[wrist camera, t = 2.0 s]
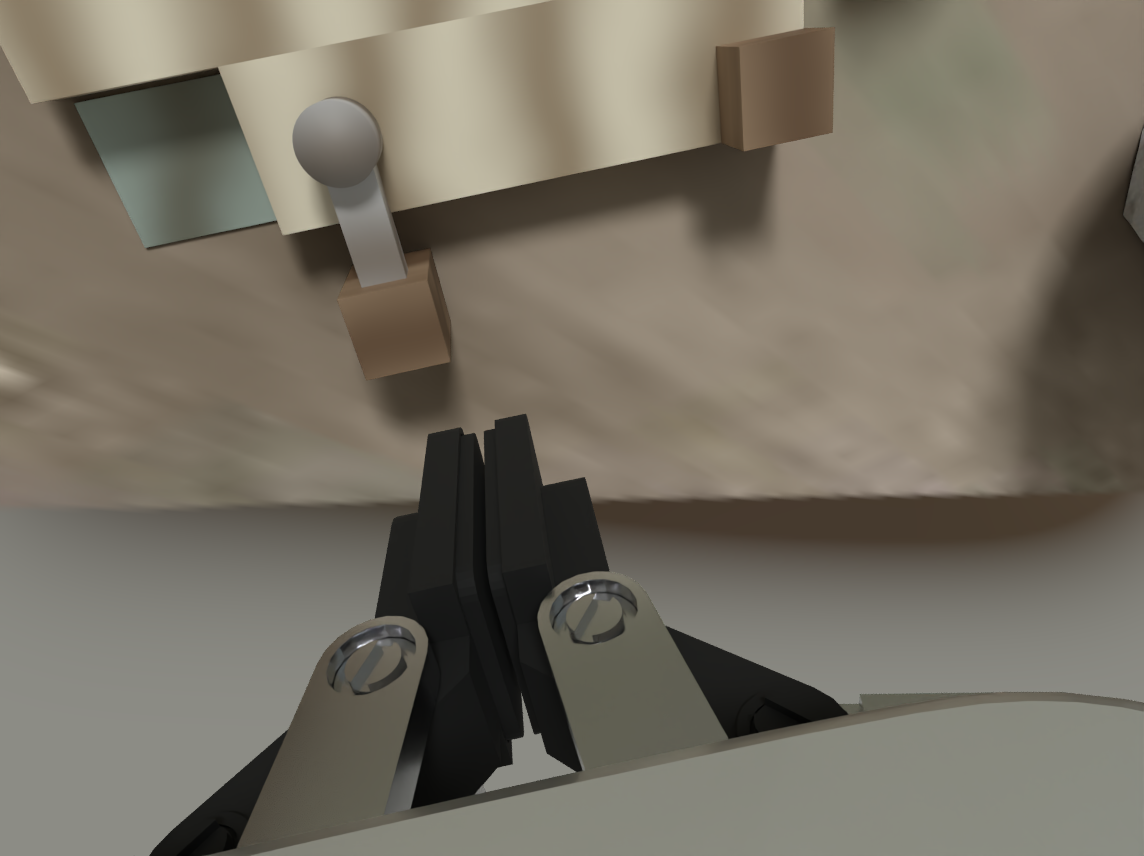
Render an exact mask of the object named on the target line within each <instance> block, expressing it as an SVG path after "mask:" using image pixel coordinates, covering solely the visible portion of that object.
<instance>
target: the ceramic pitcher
mask: <svg viewBox="0 0 1144 856" xmlns="http://www.w3.org/2000/svg"><path fill="white" fill-rule="evenodd" d="M1123 216H1124V217H1125V218H1126V219H1127V220H1128V222H1129V223H1130V224H1131V226H1132V227H1133V229H1134V230H1135V232H1136V233H1137V235H1138V236H1139V238H1140V239H1141V240H1142V241H1143V242H1144V128H1143V130H1142V135H1141V140H1140V145H1139V149H1138V153H1137V157H1136V161H1135V164H1134V169H1133V173H1132V178H1131V182H1130V187H1129V191H1128V196H1127V200H1126V205H1125V209H1124V214H1123Z"/></svg>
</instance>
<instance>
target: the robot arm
mask: <svg viewBox="0 0 1144 856" xmlns="http://www.w3.org/2000/svg"><path fill="white" fill-rule="evenodd" d="M484 459H485V465H484V462H483V458H482V454H481V451H480V447H479V443H478V440H477V437H476V434H475V433H472V434H467V435H464V433H463V430H462V428H461V427H460V428H455V429H451V430H446V431H441V432H436V433H431V434H428V439H427V447H426V454H425V462H424V470H423V478H422V486H421V493H420V501H419V509H418V513H413V514H408V515H404V516H399V517H396V518H394V519H393V522H392V526H391V532H390V538H389V543H388V548H387V554H386V559H385V565H384V570H383V576H382V581H381V587H380V592H379V598H378V603H377V609H376V614H375V619H372V620H368V621H366V622H364V623H362V624H359V625H357V626H355V627H353V628H351V629H350V630H348V631H347V632H345V633H344V634H342V635H341V636H340V637H338V638H337V639H336V640H335V641H334V642H333V643H332V644H331V645H330V646H329V647H328V648H327V649H326V650H325V652H324V653H323V655H322V657H321V659H320V660H319V662H318V663H317V665H316V668H315V670H314V672H313V674H312V677H311V679H310V682H309V684H308V686H307V688H306V690H305V693H304V695H303V697H302V700H301V702H300V704H299V706H298V709H297V711H296V713H295V715H294V718H293V720H292V722H291V725H290V727H289V729H288V730H287V731H286V732H285V733H283V734H282V735H281V736H280V737H279V738H278V739H276V740H275V741H274V742H273V743H272V744H271V745H270V746H268V748H266V749H265V750H264V751H263V752H261V753H260V754H259V755H258V756H257V757H256V758H255V759H254V760H252V761H251V762H250V763H249V764H248V765H247V766H245V767H244V768H243V769H242V770H241V771H240V772H238V773H237V774H236V775H235V776H234V777H233V778H232V779H230V780H229V781H228V782H227V783H226V784H225V785H224V786H222V787H221V788H220V789H219V790H218V791H217V792H215V793H214V794H213V795H212V796H211V797H210V798H209V799H207V800H206V801H205V802H204V803H203V804H202V805H201V806H199V807H198V808H197V809H196V810H195V811H194V812H193V813H191V814H190V815H189V816H188V817H187V818H186V819H184V820H183V821H182V822H181V823H180V824H179V825H178V826H176V827H175V828H174V829H173V830H172V831H171V832H170V833H169V834H168V835H167V836H166V837H165V838H164V839H163V840H162V841H161V842H160V843H159V844H158V845H157V846H156V847H155V848H154V850H153V851H152V853H151V854H150V856H1144V703H1143V702H1137V701H1132V700H1126V699H1118V698H1110V697H1101V696H1091V695H1083V694H1074V693H1065V692H995V693H994V692H991V693H919V694H918V693H916V694H860V697H859V704H838V703H837V702H836V701H835V700H834V699H833V698H831V697H830V696H828V695H826V694H824V693H822V692H821V691H819V690H817V689H815V688H814V687H811V686H809V685H806V684H804V683H802V682H799V681H797V680H794V679H792V678H789V677H787V676H784V675H782V674H780V673H778V672H775V671H773V670H770V669H768V668H766V667H763V666H761V665H758V664H756V663H754V662H751V661H749V660H746V659H744V658H742V657H739V656H737V655H734V654H732V653H729V652H727V651H725V650H722V649H720V648H718V647H715V646H713V645H710V644H708V643H706V642H703V641H701V640H698V639H696V638H694V637H691V636H689V635H686V634H684V633H682V632H679V631H677V630H674V629H672V628H670V627H667V626H665V625H664V623H663V621H662V619H661V618H660V616H659V614H658V612H657V610H656V609H655V607H654V605H653V603H652V602H651V600H650V598H649V596H648V594H647V593H646V591H644V589H643V588H642V587H641V586H640V584H639V583H637V582H636V581H634V580H633V579H631V578H629V577H627V576H626V575H622V574H618V573H614V572H610V571H609V567H608V564H607V560H606V556H605V552H604V548H603V544H602V540H601V537H600V533H599V529H598V525H597V521H596V517H595V514H594V510H593V506H592V502H591V498H590V494H589V490H588V487H587V483H586V479H585V477H583V478H578V479H573V480H569V481H564V482H559V483H555V484H550V485H545V486H543V484H542V479H541V475H540V471H539V466H538V462H537V458H536V453H535V449H534V445H533V440H532V436H531V431H530V427H529V423H528V419H527V415H526V414H522V415H518V416H513V417H508V418H503V419H499V420H495V429H491V430H486V431H484ZM521 693H522V696H523V699H524V703H525V706H526V709H527V713H528V716H529V719H530V722H531V726H532V729H533V732H534V734H539V733H541V735H542V739H543V742H544V745H545V749H546V752H547V754H549V755H550V756H552V757H554V758H555V759H557V760H559V761H560V762H562V763H563V764H565V765H566V766H568V767H570V768H571V769H573V770H574V771H576V772H575V773H571V774H566V775H562V776H557V777H553V778H549V779H544V780H540V781H536V782H531V783H526V784H521V785H517V786H512V787H508V788H503V789H499V790H494V791H490V792H486V791H485V789H484V786H483V784H484V783H485V782H486V780H487V779H488V778H489V777H490V776H491V775H492V773H493V772H494V771H495V770H496V769H497V768H498V767H502V766H506V765H511V764H513V761H512V742H511V740H512V739H517V738H521V737H523V736H524V726H523V712H522V698H521Z"/></svg>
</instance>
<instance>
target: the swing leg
mask: <svg viewBox="0 0 1144 856" xmlns="http://www.w3.org/2000/svg"><path fill="white" fill-rule="evenodd" d="M292 143H293V149H294V152H295V155H296V158H297V160H298V162H299V163H300V165H301V166H302V168H303V169H304V170H305V171H306V173H307V174H308V175H310V176H311V177H312V178H313V179H315V180H316V181H318V182H320V183H321V184H324V185H326V186H327V187H328V190H329V193H330V196H331V199H332V202H333V205H334V208H335V211H336V214H337V217H338V220H339V223H340V226H341V229H342V232H343V234H344V237H345V240H346V243H347V246H348V249H349V252H350V255H351V258H352V261H353V265H352V267H351V269H350V271H349V274H348V276H347V278H346V281H345V283H344V285H343V287H342V290H341V292H340V294H339V297H338V299H337V301H338V304H339V307H340V309H341V312H342V315H343V318H344V320H345V323H346V326H347V329H348V331H349V334H350V337H351V340H352V342H353V345H354V348H355V351H356V353H357V356H358V359H359V362H360V364H361V367H362V370H363V373H364V375H365V378H366V381H367V380H371V379H376V378H380V377H385V376H389V375H394V374H398V373H403V372H407V371H412V370H416V369H421V368H425V367H430V366H434V365H439V364H443V363H448V362H451V320H450V317H449V313H448V310H447V306H446V302H445V299H444V295H443V292H442V288H441V285H440V281H439V277H438V274H437V270H436V267H435V263H434V259H433V256H432V252H431V249H430V248H428V249H423V250H419V251H414V252H409V253H405V254H403V250H402V247H401V244H400V240H399V237H398V234H397V230H396V227H395V224H394V220H393V217H392V214H391V210H390V207H389V204H388V200H387V197H386V194H385V190H384V187H383V184H382V180H381V177H380V174H379V170H378V167H377V164H376V163H377V162H378V160H379V158H380V155H381V152H382V147H383V139H382V133H381V129H380V126H379V124H378V122H377V120H376V118H375V117H374V115H373V114H372V113H371V112H370V111H369V110H368V109H367V108H366V107H365V106H364V105H362V104H361V103H359V102H357V101H355V100H353V99H350V98H347V97H338V96H336V97H329V98H326V99H324V100H322V101H319V102H317V103H315V104H313V105H311V106H309V107H308V108H306V109H305V110H304V111H303V112H302V113H301V114H300V115H299V117H298V119H297V120H296V123H295V125H294V129H293V135H292Z"/></svg>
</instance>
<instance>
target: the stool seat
mask: <svg viewBox="0 0 1144 856" xmlns="http://www.w3.org/2000/svg"><path fill="white" fill-rule="evenodd" d="M834 41H835V27H830V28H804V0H0V45H1V47H2V49H3V51H4V53H5V55H6V57H7V59H8V61H9V62H10V64H11V66H12V68H13V70H14V72H15V74H16V76H17V78H18V80H19V82H20V84H21V85H22V87H23V89H24V91H25V93H26V95H27V97H28V99H29V101H30V103H31V104H34V103H41V102H47V101H54V100H61V99H67V98H72V97H77V96H82V95H87V94H92V93H97V92H102V91H107V90H112V89H117V88H122V87H127V86H132V85H137V84H142V83H147V82H152V81H158V80H163V79H168V78H173V77H178V76H183V75H188V74H193V73H198V72H203V71H208V70H213V69H219V71H220V74H219V75H214V76H209V77H204V78H199V79H194V80H189V81H184V82H179V83H174V84H169V85H164V86H159V87H154V88H149V89H144V90H138V91H133V92H128V93H123V94H118V95H113V96H108V97H103V98H98V99H93V100H88V101H83V102H78V103H74V104H75V106H76V109H77V111H78V113H79V115H80V117H81V119H82V121H83V123H84V125H85V127H86V129H87V131H88V133H89V135H90V137H91V139H92V141H93V143H94V145H95V147H96V149H97V151H98V153H99V155H100V157H101V159H102V161H103V163H104V165H105V167H106V169H107V171H108V173H109V176H110V178H111V180H112V182H113V184H114V186H115V188H116V190H117V192H118V194H119V196H120V198H121V200H122V202H123V204H124V206H125V208H126V210H127V212H128V214H129V216H130V218H131V220H132V222H133V224H134V226H135V228H136V230H137V232H138V234H139V236H140V238H141V241H142V243H143V245H144V247H145V248H147V247H152V246H157V245H161V244H166V243H171V242H176V241H180V240H185V239H190V238H195V237H200V236H204V235H209V234H214V233H219V232H223V231H228V230H233V229H238V228H242V227H247V226H252V225H257V224H262V223H266V222H271V221H276V220H277V222H278V224H279V227H280V229H281V232H282V234H283V235H287V234H292V233H296V232H301V231H306V230H311V229H315V228H320V227H325V226H330V225H334V224H339V220H338V217H337V214H336V211H335V208H334V205H333V202H332V199H331V196H330V193H329V190H328V187H327V186H326V185H324V184H321V183H320V182H318V181H316V180H315V179H313V178H312V177H311V176H310V175H308V174H307V173H306V171H305V170H304V169H303V168H302V166H301V165H300V163H299V162H298V160H297V158H296V155H295V152H294V149H293V143H292V135H293V129H294V125H295V123H296V120H297V119H298V117H299V115H300V114H301V113H302V112H303V111H304V110H305V109H306V108H308V107H309V106H311V105H313V104H315V103H317V102H319V101H322V100H324V99H326V98H329V97H336V96H338V97H347V98H350V99H353V100H355V101H357V102H359V103H361V104H362V105H364V106H365V107H366V108H367V109H368V110H369V111H370V112H371V113H372V114H373V115H374V117H375V118H376V120H377V122H378V124H379V126H380V129H381V133H382V139H383V147H382V152H381V155H380V158H379V160H378V162H377V163H376V164H377V167H378V170H379V174H380V177H381V180H382V184H383V187H384V190H385V194H386V197H387V200H388V204H389V207H390V210H391V212H396V211H401V210H405V209H410V208H415V207H420V206H424V205H429V204H434V203H439V202H443V201H448V200H453V199H458V198H462V197H467V196H472V195H477V194H481V193H486V192H491V191H496V190H500V189H505V188H510V187H515V186H519V185H524V184H529V183H534V182H538V181H543V180H548V179H553V178H557V177H562V176H567V175H572V174H576V173H581V172H586V171H591V170H595V169H600V168H605V167H609V166H614V165H619V164H624V163H628V162H633V161H638V160H643V159H647V158H652V157H657V156H662V155H666V154H671V153H676V152H681V151H685V150H690V149H695V148H700V147H704V146H709V145H714V144H719V143H723V144H725V145H728V146H731V147H733V148H736V149H739V150H741V151H748V150H753V149H758V148H762V147H767V146H772V145H776V144H781V143H786V142H791V141H795V140H800V139H805V138H809V137H814V136H819V135H824V134H828V133H833V90H834Z"/></svg>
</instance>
